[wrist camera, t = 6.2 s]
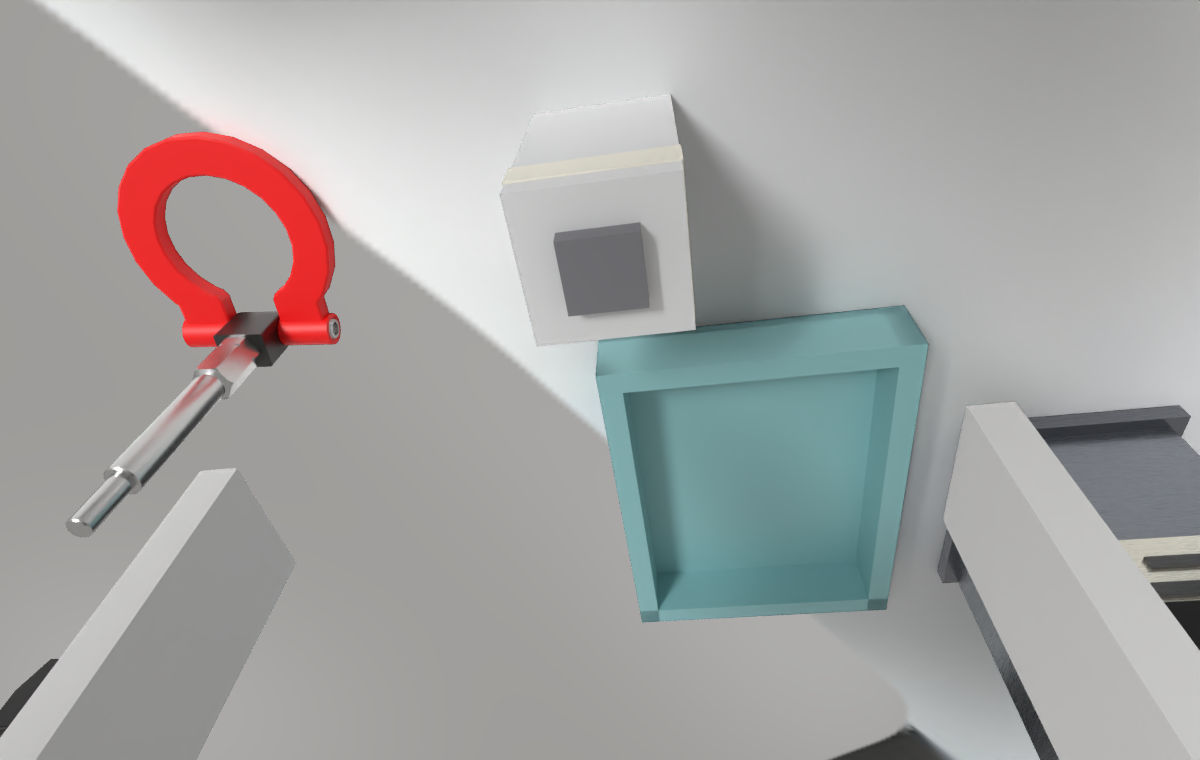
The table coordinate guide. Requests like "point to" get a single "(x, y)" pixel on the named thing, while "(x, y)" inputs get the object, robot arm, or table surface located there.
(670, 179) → the white tall square block
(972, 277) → the table surface
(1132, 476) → the controller unit
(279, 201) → the tow hook
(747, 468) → the parts tray
